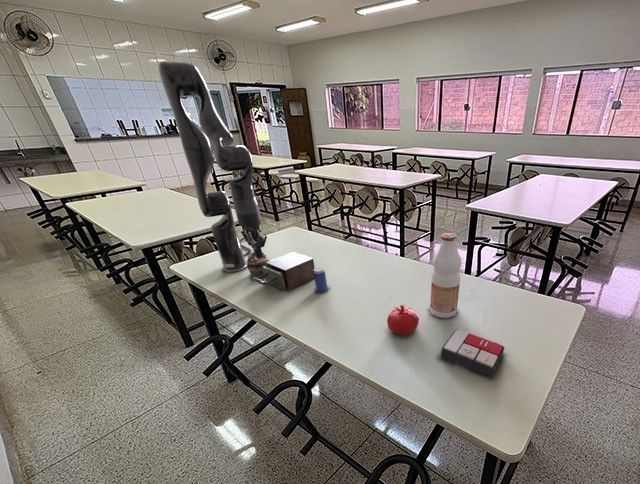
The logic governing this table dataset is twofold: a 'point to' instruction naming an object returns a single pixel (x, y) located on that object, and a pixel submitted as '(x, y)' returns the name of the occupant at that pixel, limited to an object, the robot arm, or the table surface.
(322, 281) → the pepper shaker
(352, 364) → the table surface
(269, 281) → the drawer
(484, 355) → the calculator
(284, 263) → the cabinet
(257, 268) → the cupcake
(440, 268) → the fruit juice
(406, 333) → the pomegranate
